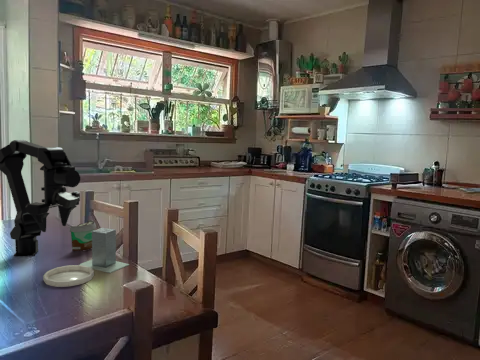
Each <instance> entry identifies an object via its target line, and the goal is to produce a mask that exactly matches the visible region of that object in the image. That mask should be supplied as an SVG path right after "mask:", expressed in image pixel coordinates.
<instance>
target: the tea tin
mask: <svg viewBox="0 0 480 360" xmlns="http://www.w3.org/2000/svg"><path fill="white" fill-rule="evenodd" d="M116 238H117V230H116V229H113V228H107V227H101V228H98V229H94V231H92V249H91V254H92V255H91V260H92V266H97V267H103V268H107V267H109V266H111V265H113V264H115V263H116V261H117V239H116Z"/></svg>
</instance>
